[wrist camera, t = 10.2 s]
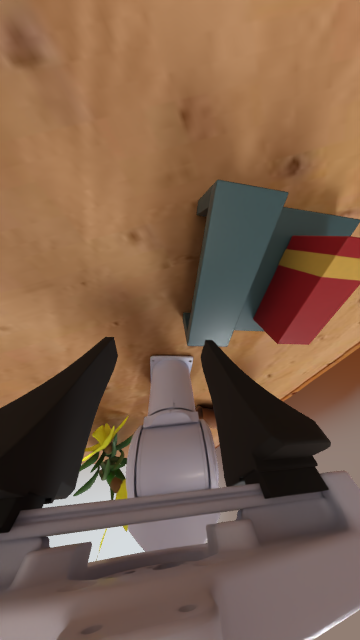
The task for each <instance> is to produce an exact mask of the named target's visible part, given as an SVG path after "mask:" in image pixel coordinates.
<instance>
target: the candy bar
mask: <svg viewBox="0 0 360 640" xmlns="http://www.w3.org/2000/svg"><path fill="white" fill-rule="evenodd" d="M359 285H360V238H358V237H351V236H292V238H291V240H290V242H289V244H288V246H287V248H286V250H285V252H284V254H283V256H282V258H281V260H280V262H279V264H278V267H277V270H276V272H275V274H274V276H273V278H272V280H271V282H270V284H269V287H268V289H267V291H266V293H265V295H264V297H263V299H262V301H261V303H260V306H259V308H258V310H257V312H256V314H255V316H254V318H253V320H254V321H255V322H256V323H257V324H258V325H259V326H260V327H261V328H262V329H263V330H264V331H265V332H266V333H267V334H268V335H269V336H270V337H271V338H272V339H273V340H274V341H275V342H276V343H277V344H306V345H309V344H310V343H311V342H312V340H313V339H314V338H315V337H316V336H317V334H318V333H319V332H320V331H321V330H322V329H323V327H324V326H325V325H326V324H327V323H328V321H329V320H330V319H331V318H332V317H333V316H334V314H335V313H336V312H337V311H338V310H339V308H340V307H341V306H342V305H343V304H344V302H345V301H346V300H347V299H348V298H349V297H350V295H351V294H352V293H353V292H354V291H355V289H356V288H357V287H358V286H359Z"/></svg>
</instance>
